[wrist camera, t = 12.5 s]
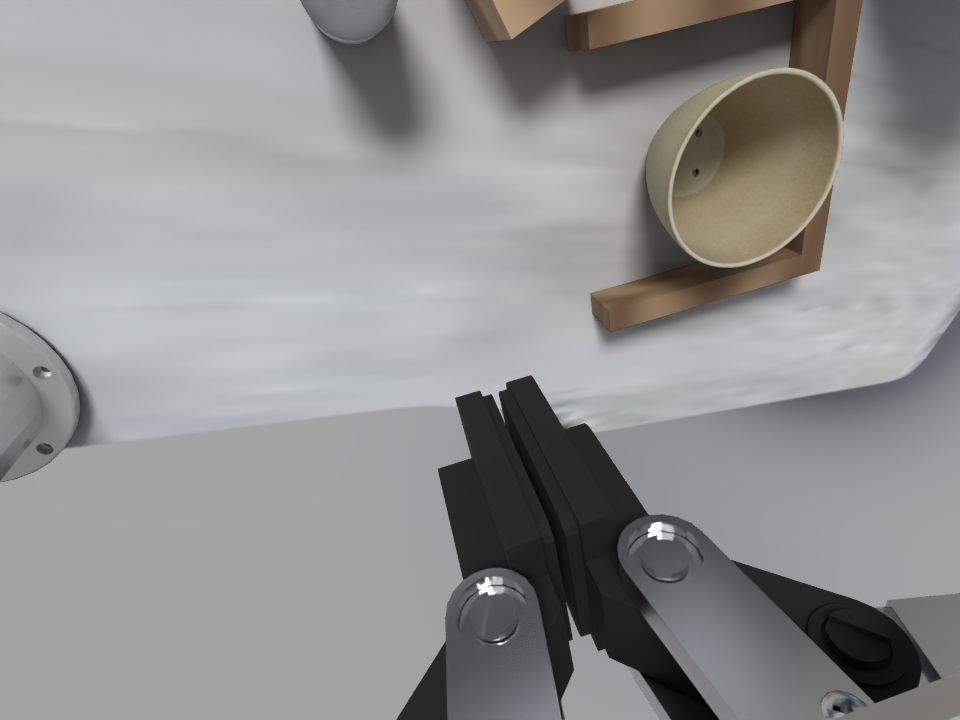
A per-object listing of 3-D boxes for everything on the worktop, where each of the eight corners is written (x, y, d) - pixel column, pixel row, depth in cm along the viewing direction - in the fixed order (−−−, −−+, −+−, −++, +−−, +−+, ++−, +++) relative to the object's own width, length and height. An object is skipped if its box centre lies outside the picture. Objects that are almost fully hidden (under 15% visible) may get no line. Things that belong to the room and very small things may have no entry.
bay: (592, 313, 38) (610, 331, 35) (564, 16, 28) (586, 12, 26) (788, 256, 39) (819, 270, 36) (825, -45, 29) (871, -55, 27)
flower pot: (593, 107, 31) (654, 118, 25) (748, 38, 31) (848, 32, 25) (626, 256, 36) (683, 296, 30) (758, 197, 36) (842, 225, 30)
